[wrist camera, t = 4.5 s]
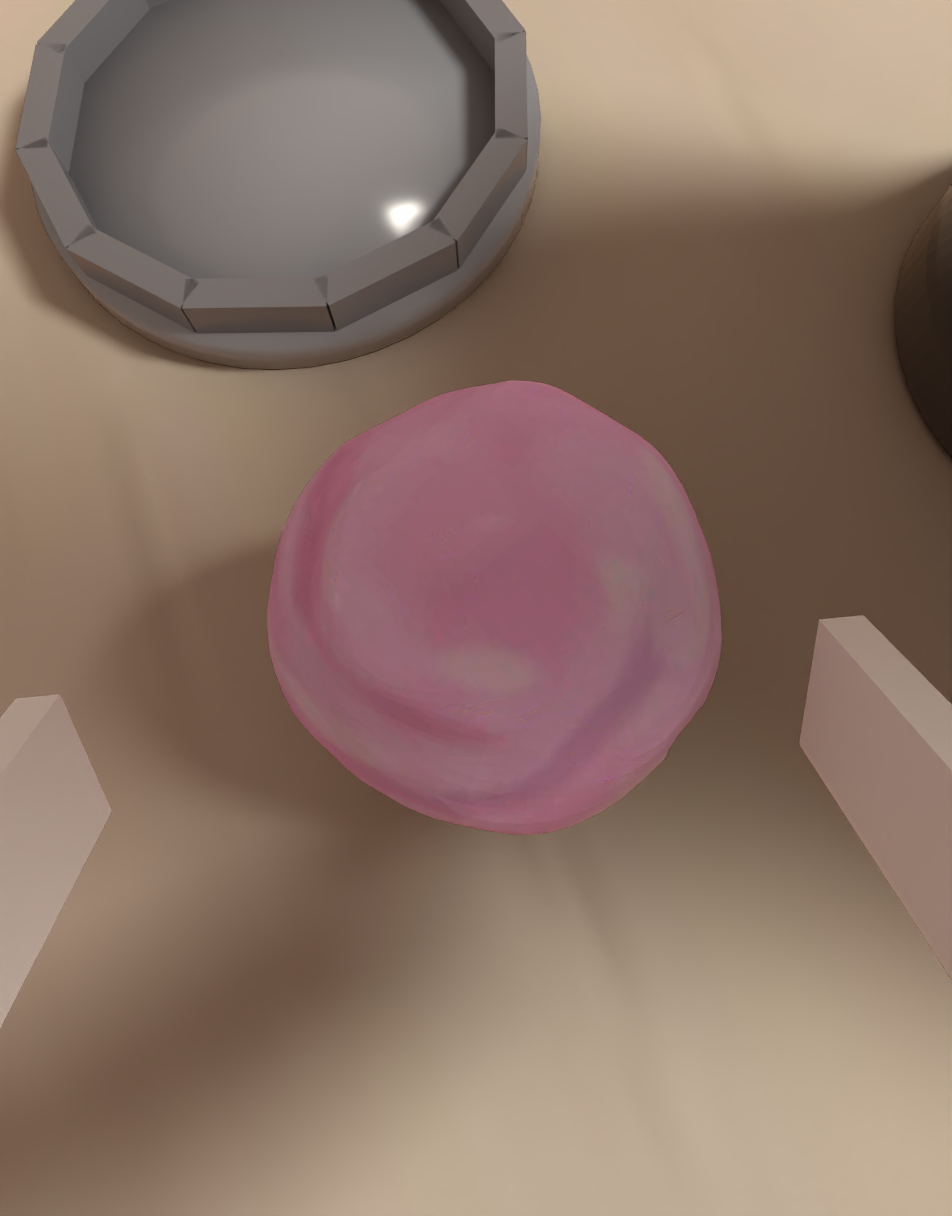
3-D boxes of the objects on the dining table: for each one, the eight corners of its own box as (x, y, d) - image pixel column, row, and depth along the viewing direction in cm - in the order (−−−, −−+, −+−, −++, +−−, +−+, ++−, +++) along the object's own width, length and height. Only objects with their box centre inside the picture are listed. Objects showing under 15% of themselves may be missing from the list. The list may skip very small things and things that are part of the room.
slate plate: (534, -37, 28) (537, -112, 26) (543, 366, 24) (548, 317, 22) (86, -24, 29) (50, -98, 26) (13, 372, 24) (-38, 326, 22)
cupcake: (282, 718, 21) (103, 640, 12) (440, 469, 23) (399, 224, 13) (562, 886, 20) (624, 959, 10) (706, 609, 22) (874, 447, 12)
